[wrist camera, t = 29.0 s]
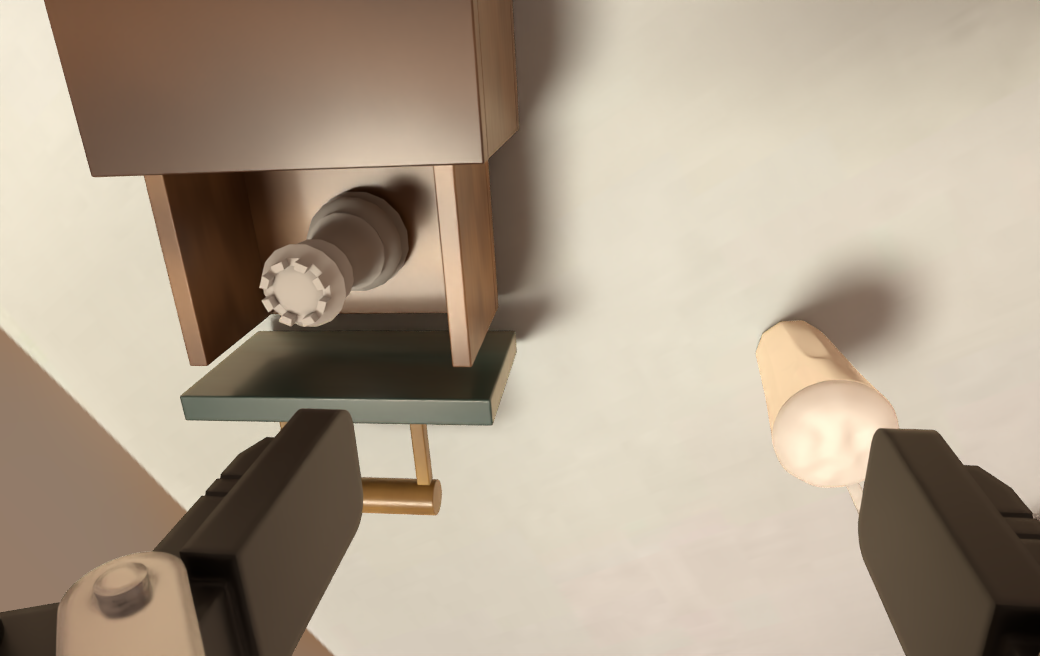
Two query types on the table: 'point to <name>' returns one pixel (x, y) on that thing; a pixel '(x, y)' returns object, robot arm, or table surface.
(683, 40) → the table surface
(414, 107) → the cabinet
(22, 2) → the table surface
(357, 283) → the rook chess piece
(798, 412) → the milkshake
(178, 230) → the drawer
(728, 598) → the table surface
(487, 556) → the table surface
